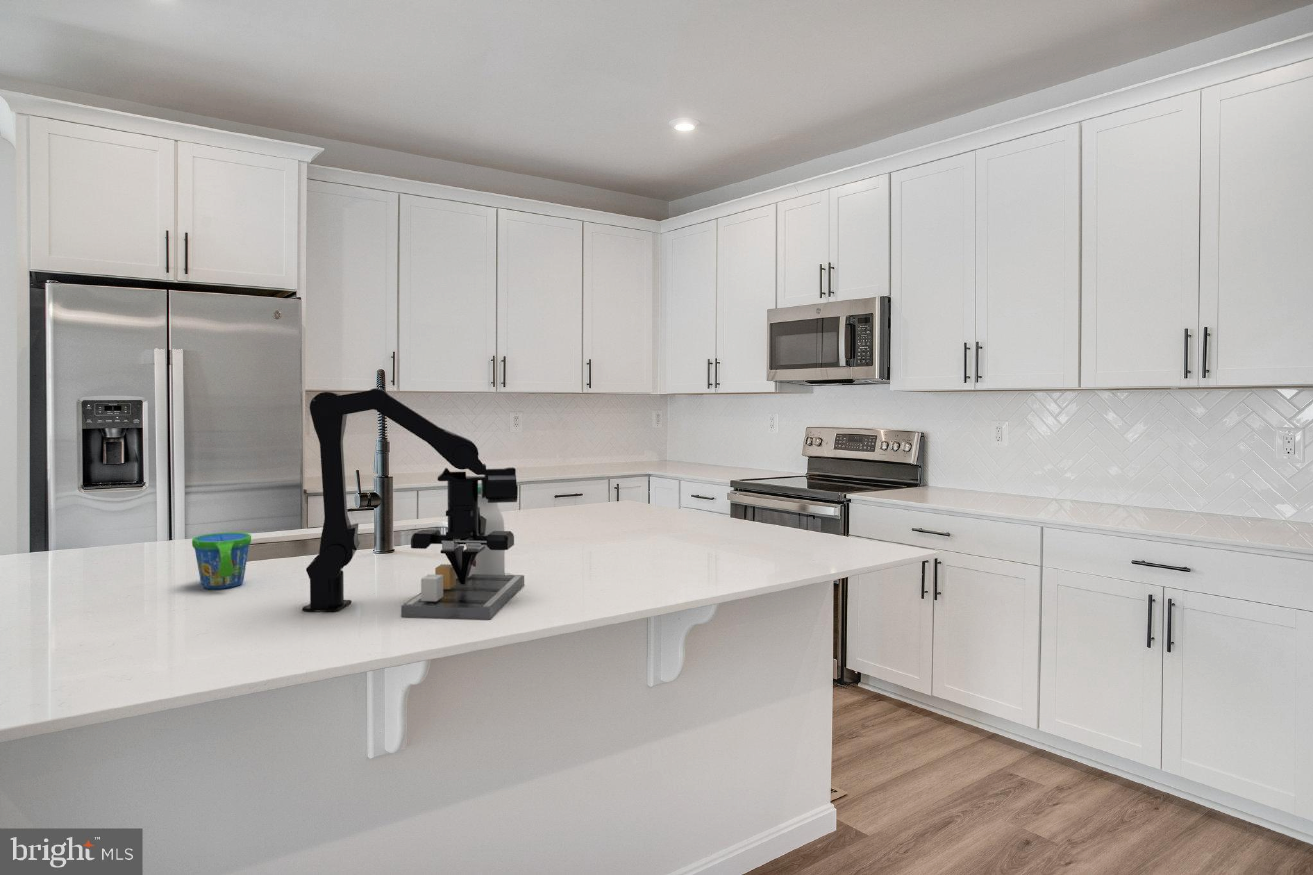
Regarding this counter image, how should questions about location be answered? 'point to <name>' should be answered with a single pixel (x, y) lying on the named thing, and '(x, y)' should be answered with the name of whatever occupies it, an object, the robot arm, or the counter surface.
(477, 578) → the panel
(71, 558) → the counter surface
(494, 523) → the milk bottle
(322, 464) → the robot arm
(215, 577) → the snack cup
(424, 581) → the grey small block
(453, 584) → the orange block
